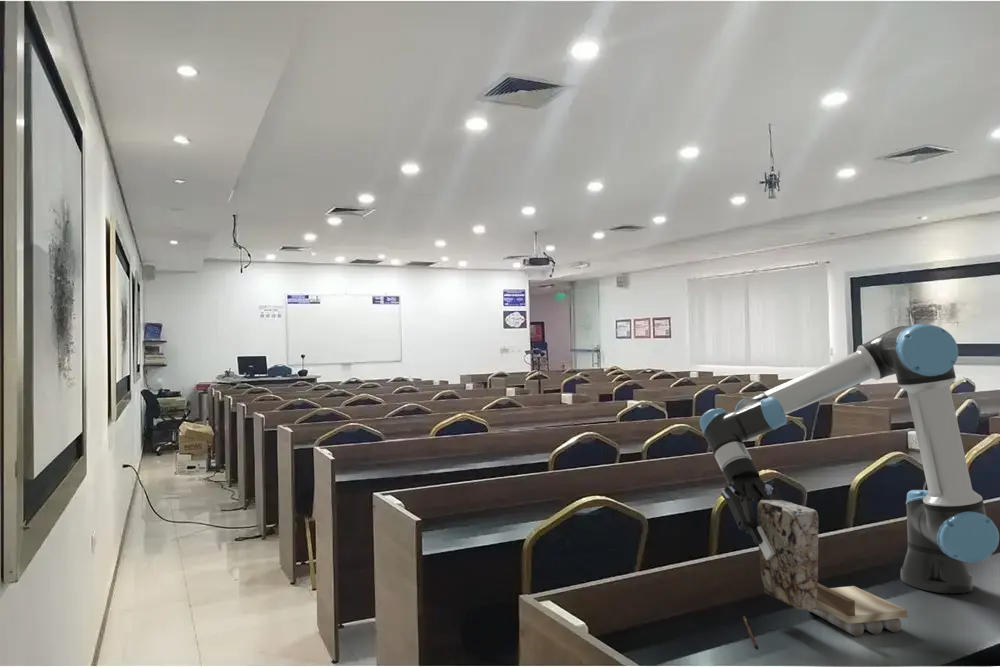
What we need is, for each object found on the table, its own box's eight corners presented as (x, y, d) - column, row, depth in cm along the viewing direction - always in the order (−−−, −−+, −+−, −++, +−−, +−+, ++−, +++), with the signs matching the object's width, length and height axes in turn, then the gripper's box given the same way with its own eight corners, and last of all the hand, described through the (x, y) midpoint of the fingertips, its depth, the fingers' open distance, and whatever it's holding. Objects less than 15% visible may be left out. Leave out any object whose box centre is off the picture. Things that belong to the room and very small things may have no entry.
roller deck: (854, 605, 154) (853, 572, 154) (907, 632, 139) (906, 595, 140) (800, 611, 151) (799, 577, 151) (849, 639, 136) (848, 601, 137)
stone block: (826, 608, 137) (822, 509, 138) (798, 613, 135) (794, 512, 135) (779, 587, 150) (775, 496, 150) (753, 591, 147) (750, 499, 148)
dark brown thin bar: (757, 650, 132) (757, 645, 132) (754, 650, 132) (754, 644, 133) (745, 620, 147) (745, 615, 147) (743, 620, 147) (742, 615, 147)
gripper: (765, 473, 165) (812, 560, 148) (696, 477, 161) (737, 568, 144) (777, 454, 160) (828, 542, 143) (707, 458, 156) (751, 550, 139)
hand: (783, 555), depth 144 cm, fingers closed on stone block, 5 cm apart
